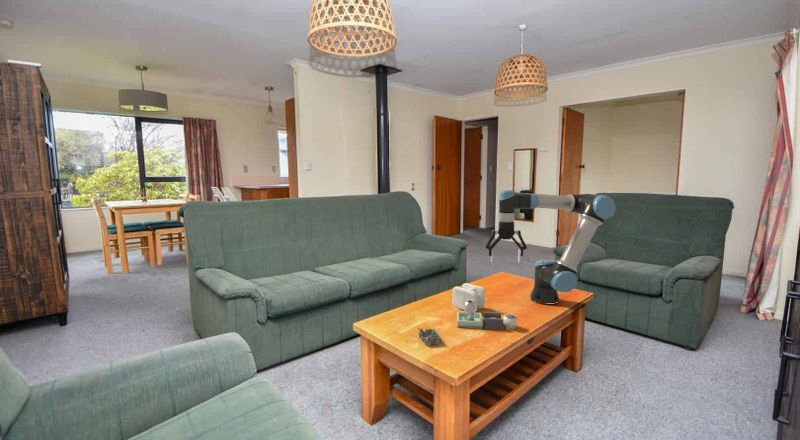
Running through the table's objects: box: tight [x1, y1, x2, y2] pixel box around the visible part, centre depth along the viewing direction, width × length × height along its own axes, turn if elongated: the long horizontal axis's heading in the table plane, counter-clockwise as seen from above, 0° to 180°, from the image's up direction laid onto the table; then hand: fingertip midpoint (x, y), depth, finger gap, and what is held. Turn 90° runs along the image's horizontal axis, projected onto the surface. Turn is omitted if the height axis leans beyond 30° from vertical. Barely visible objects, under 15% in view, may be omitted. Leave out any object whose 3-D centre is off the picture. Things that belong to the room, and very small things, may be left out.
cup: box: [502, 313, 518, 330], centre depth 171 cm, size 6×6×5 cm
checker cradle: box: [483, 311, 504, 330], centre depth 173 cm, size 8×9×5 cm
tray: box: [456, 311, 484, 330], centre depth 176 cm, size 12×12×3 cm
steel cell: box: [464, 300, 475, 321], centre depth 175 cm, size 5×5×10 cm
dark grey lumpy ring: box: [417, 327, 441, 346], centre depth 158 cm, size 11×8×4 cm
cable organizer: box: [451, 282, 486, 313], centre depth 194 cm, size 15×11×12 cm
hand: (505, 262), depth 187 cm, fingers open, 13 cm apart
